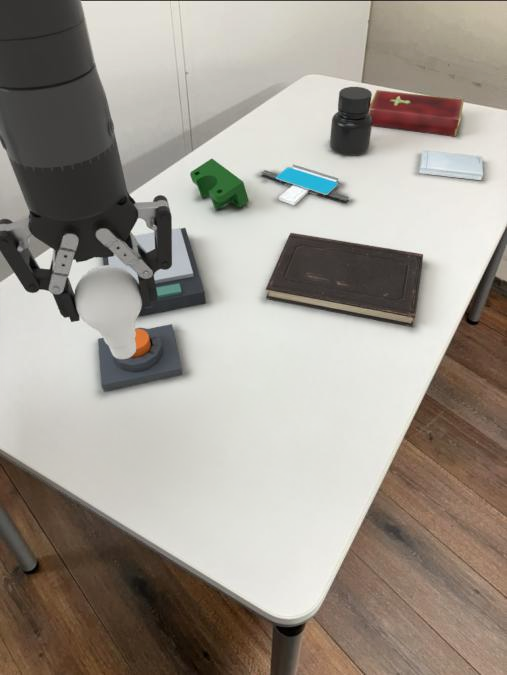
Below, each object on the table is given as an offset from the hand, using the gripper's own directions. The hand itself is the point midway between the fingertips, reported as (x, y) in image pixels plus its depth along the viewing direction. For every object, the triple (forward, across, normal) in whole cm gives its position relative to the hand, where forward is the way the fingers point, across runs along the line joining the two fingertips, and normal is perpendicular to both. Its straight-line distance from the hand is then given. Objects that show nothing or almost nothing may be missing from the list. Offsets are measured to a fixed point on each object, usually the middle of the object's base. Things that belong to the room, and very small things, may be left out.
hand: (111, 308), depth 48 cm
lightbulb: (+7, 0, 0) cm, 7 cm away
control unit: (+23, 0, -14) cm, 27 cm away
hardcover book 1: (+23, -35, -22) cm, 47 cm away
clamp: (+23, -20, -52) cm, 60 cm away
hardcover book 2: (+22, -73, -73) cm, 106 cm away
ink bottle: (+23, -53, -65) cm, 87 cm away
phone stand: (+23, -37, -51) cm, 67 cm away
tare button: (+20, 0, -14) cm, 24 cm away
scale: (+23, -4, -32) cm, 39 cm away
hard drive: (+22, -70, -50) cm, 89 cm away
